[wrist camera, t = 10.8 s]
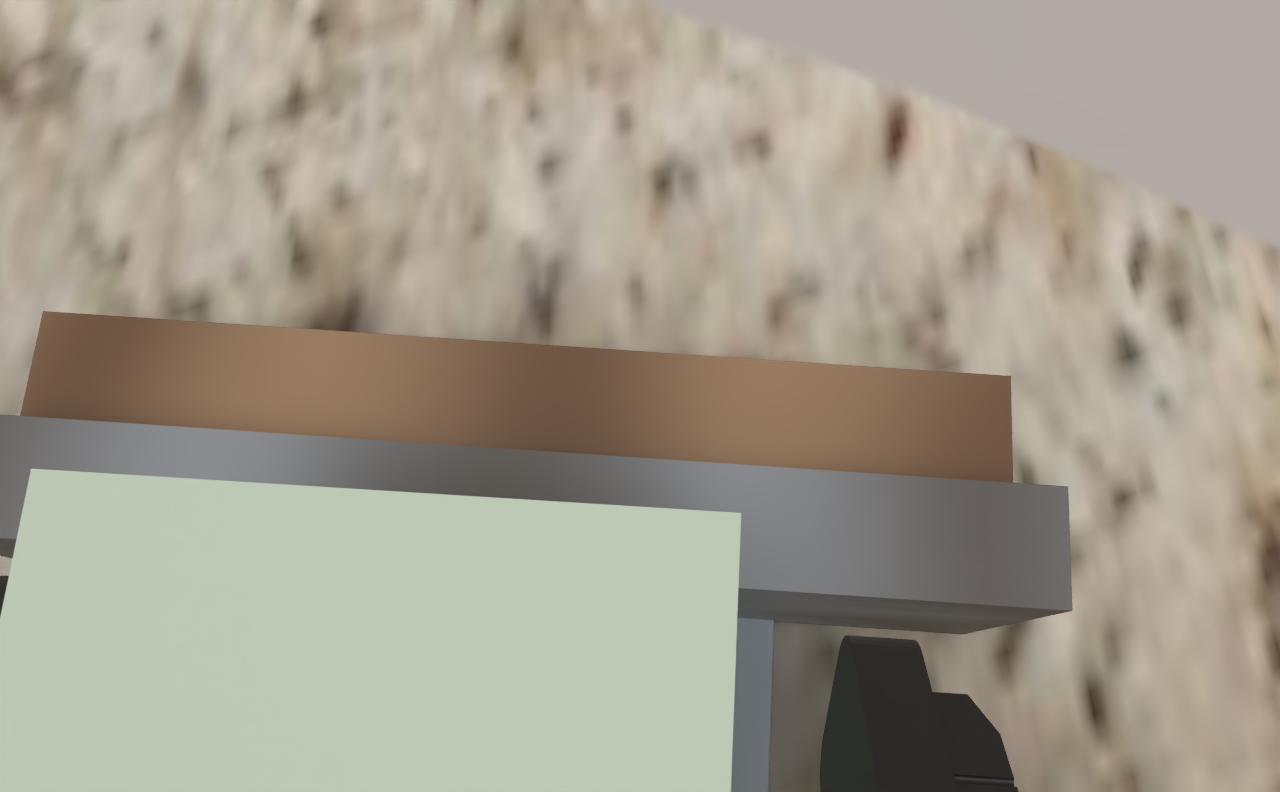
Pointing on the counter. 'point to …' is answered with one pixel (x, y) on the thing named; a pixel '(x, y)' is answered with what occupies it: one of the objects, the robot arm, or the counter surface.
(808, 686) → the counter surface
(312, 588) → the green block
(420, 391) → the dock
